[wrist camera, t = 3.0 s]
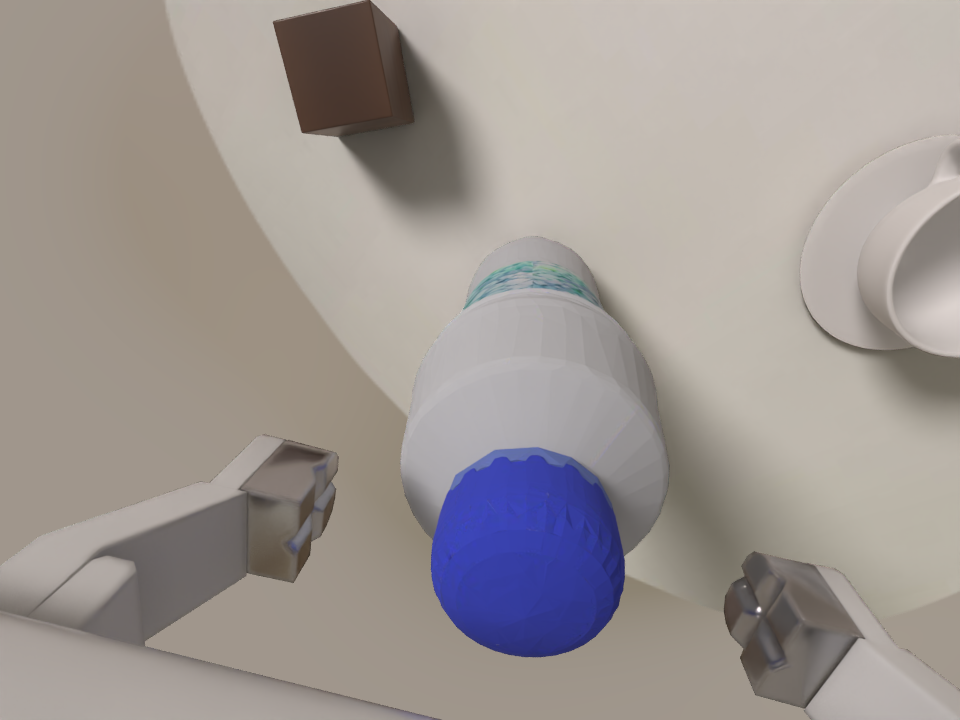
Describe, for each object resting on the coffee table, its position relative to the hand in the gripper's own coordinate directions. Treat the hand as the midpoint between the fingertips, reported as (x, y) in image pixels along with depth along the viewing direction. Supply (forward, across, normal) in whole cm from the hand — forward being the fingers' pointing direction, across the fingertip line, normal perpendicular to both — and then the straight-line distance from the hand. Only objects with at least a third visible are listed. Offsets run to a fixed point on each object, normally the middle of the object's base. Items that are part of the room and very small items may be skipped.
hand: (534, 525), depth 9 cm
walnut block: (+18, +10, -8) cm, 22 cm away
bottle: (+18, 0, 0) cm, 18 cm away
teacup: (+18, -17, -6) cm, 25 cm away
